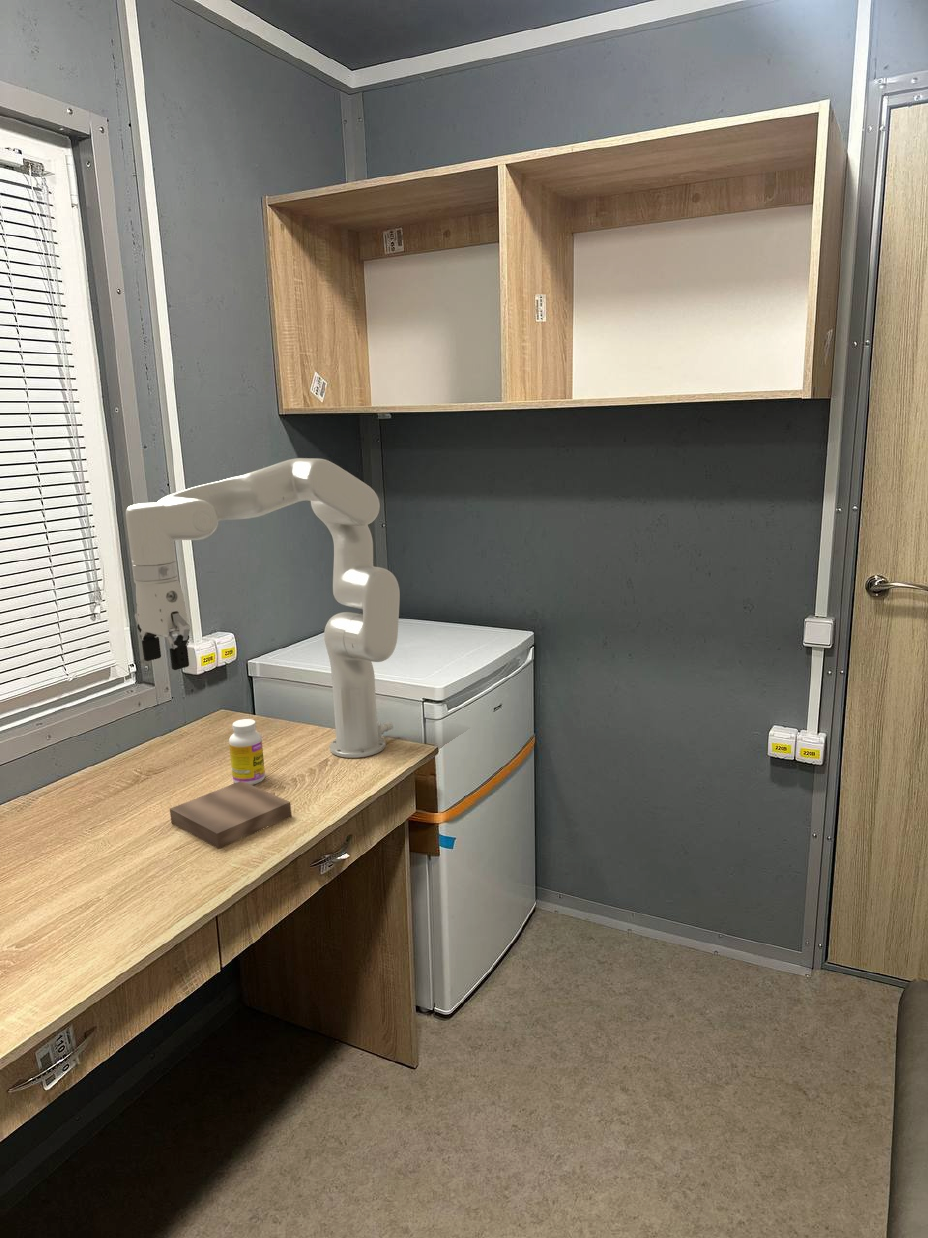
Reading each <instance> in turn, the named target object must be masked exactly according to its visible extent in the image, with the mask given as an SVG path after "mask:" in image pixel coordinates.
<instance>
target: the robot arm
mask: <svg viewBox="0 0 928 1238" xmlns="http://www.w3.org/2000/svg"><path fill="white" fill-rule="evenodd" d="M303 501H309V502H310V506H311V510H312V511H313V513H314V514H315V516H316V517H317V518H318V519H319V520H320V521H321V522H322V523H323V524H324V525H325V527H326V528H327V529H328V531H329V533H330V535H331V536H332V541H333V573H332V593H333V597H334V599H335V600H336V601H337V603H339V604H340V605H342V606H346V607H349V608H350V607H351V608H354V609H359V610H362V614H361V613H356V612H351V611H345V612H343V611H342V612H339V613H336V614H334V615H333V616H331V617H330V618H329V619H328V621H327V622H326V625H325V627H324V632H323V635H324V644H325V648H326V651H327V652H326V653H327V654H328V659H329V663H330V671H331V673H330V674H331V682H332V683H331V685H332V698H333V712H334V725H335V739H334V740H332V741H331V742H330V744H329V750H330V752H331V753H332V754H333V755H334V756H337V757H340V758H347V759H349V758H350V759H352V758H353V759H356V758H365V757H371V756H373V755H376V754H379V753H381V752H382V751H383V750H384V749H385V747H386V740H385V738H384V737H383V735H384V734H385V733H387V732H389V731H391V730H393V729H394V724H393V723H392V722H391V721H387V722H384V723H383V724H381V722H380V721H378V713H377V712H378V711H377V697H376V696H377V695H376V694H377V693H376V677H375V675H376V674H375V670H374V665H373V663H381V662H385V661H387V660H388V659H389V658H390V657H391V656H392V655H393V653H395V649H396V647H397V644H398V643H397V642H398V635H399V634H398V633H399V620H400V619H399V616H400V601H401V599H400V598H401V597H400V595H401V594H400V593H401V592H400V586H399V582H398V580H397V577H396V576H395V574H394V573H393V572H391V571H390V570H388V569H387V568H384V567H379V566H374V541H373V540H374V539H373V537H372V532H371V530H370V527H369V525H370V524H371V523H373V522H374V521H375V520H376V518H377V517H378V515H379V512H380V508H381V505H380V499H379V496H378V494H377V493H376V492H375V490H374V489H373V488H372V487H371V486H369V485H368V484H367V483H365V482H363V481H362V480H360V479H359V478H358V477H356V476H355V475H353V474H351V473H350V472H348V471H347V470H345V469H343V468H342V467H341V466H339V465H337V464H335V463H333V462H332V461H329V460H328V459H324V458H317V457H316V458H311V457H310V458H307V457H305V458H304V457H297V458H290V459H287V460H283V461H280V462H277V463H275V464H272V465H269V466H265V467H263V468H259V469H257V470H254V471H251V472H247V473H245V474H242V475H237V476H236V475H235V476H232V477H229V478H226V479H222V480H219V481H218V480H217V481H213V482H209V483H205V484H201V485H197V486H193V487H190V488H187V489H184V490H181V491H180V490H179V491H178V492H174V493H172V494H167V495H166V496H164V497H163V496H162V498H160V499H159V500H158V501H157V502H141V503H140V502H139V503H135V504H132V505H129V506H128V507H127V508H126V509H125V520H126V521H125V522H126V528H127V529H126V530H127V537H128V545H129V553H130V560H131V568H132V573H133V574H132V575H133V583H134V584H135V602H136V612H135V614H134V619H135V622H136V624H137V629H138V632H139V639H140V640H141V646H142V654H143V655H142V656H143V660H144V661H146V662H149V661H154V660H157V659H160V658H161V657H162V653H161V652H162V651H161V643H160V638H159V637H163V638H166V639H167V640H168V641H167V642H168V643H169V645H170V647H171V648H169V654H170V655H169V656H170V665H171V669H172V670H174V671H177V670H181V669H184V668H188V667H189V666H190V660H189V651H188V646H189V639H190V631H191V626H190V623H189V621H188V614H187V608H186V602H185V597H184V594H183V589H182V586H181V583H180V581H179V575H178V566H177V558H176V550H175V547H176V546H175V541H176V542H177V541H200V540H204V539H207V538H208V537H210V536H211V535H213V533H215V531H216V530H217V528H218V526H219V521H225V520H226V521H227V520H244V519H245V520H246V519H253V518H259V517H262V516H264V515H267V514H270V513H271V512H275V511H277V510H280V509H283V508H285V507H288V506H291V505H294V504H295V503H296V504H297V503H299V502H303ZM175 637H176V639H175Z"/></svg>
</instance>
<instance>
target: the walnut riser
mask: <svg viewBox="0 0 928 1238" xmlns="http://www.w3.org/2000/svg"><path fill="white" fill-rule="evenodd" d="M291 806H292V805H291V801H289V800H286V799H284V798H281V796H278V795H275V794H273V793H270V792H268V791H266V790H263V789H262V788H259V787H257V786H255V785H250V784H248V783H246V782H243V781H240V782H237V783H232V784H230V785H228V786H224V787H222V788H219V789H217V790H214V791H211V792H210V793H207V794H204V795H202V796H199V797H197V798H194V799H192V800H189V801H186V802H184V803H181V804H179V805H175V806H173V807H171V808H169V813H170V821H171V824H172V825H174V826H176V827H178V828H179V829H182V830H183V831H185V832H187V833H188V834H190V835H192V836H194V837H196V838H197V839H200V840H201V841H204V842H205V843H208V844H209V845H211V846H213V847H214V848H217V849H218V850H220V849H222V848H224V847H226V846H228V845H231V844H233V843H235V842H238V841H240V840H243V839H245V838H247V837H248V836H249V837H250V836H251V835H253V834H255V832H256V833H258V832H260V831H262V830H264V829H263V828H265V829H267V828H268V827H267V826H269V827H271V826H273V825H276V824H278V823H280V822H282V820H283V821H285V820H287V819H289V818H291V817H292V807H291ZM284 819H285V820H284ZM275 823H276V824H275ZM266 827H267V828H266ZM261 829H262V830H261ZM259 830H260V831H259ZM257 831H258V832H257ZM244 837H245V838H244Z"/></svg>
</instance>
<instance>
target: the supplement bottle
mask: <svg viewBox="0 0 928 1238" xmlns="http://www.w3.org/2000/svg"><path fill="white" fill-rule="evenodd" d="M256 728H257V724H256V720H255V719H252V718H243V719H237V720H235V721H233V723H232V730H233V733H232V734H231V735H230V737H229V739H228V743H229V744H228V745H229V754H230V755H229V756H230V763H231V775H232V776H231V777H232V781H233V784H235V783H237V782H240V781H243V782H246V783H248V784H250V785H252V786H255V785H257V784H259V783H261V782H262V781H263V780H264V779H265V777H266V771H265V762H264V752H263V751H264V749H263V738H262V735H261V733H260V732H258V731H257V730H256Z"/></svg>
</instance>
